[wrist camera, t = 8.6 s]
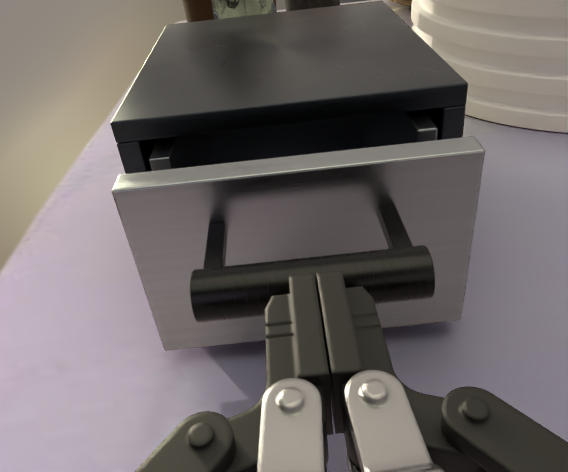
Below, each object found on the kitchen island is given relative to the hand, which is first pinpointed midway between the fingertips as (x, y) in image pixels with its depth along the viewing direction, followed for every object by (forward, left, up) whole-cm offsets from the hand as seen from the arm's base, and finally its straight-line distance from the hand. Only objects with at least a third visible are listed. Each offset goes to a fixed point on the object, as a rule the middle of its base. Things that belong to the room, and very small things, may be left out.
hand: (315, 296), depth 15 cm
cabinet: (+12, +10, -7) cm, 17 cm away
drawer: (+7, +6, -6) cm, 11 cm away
